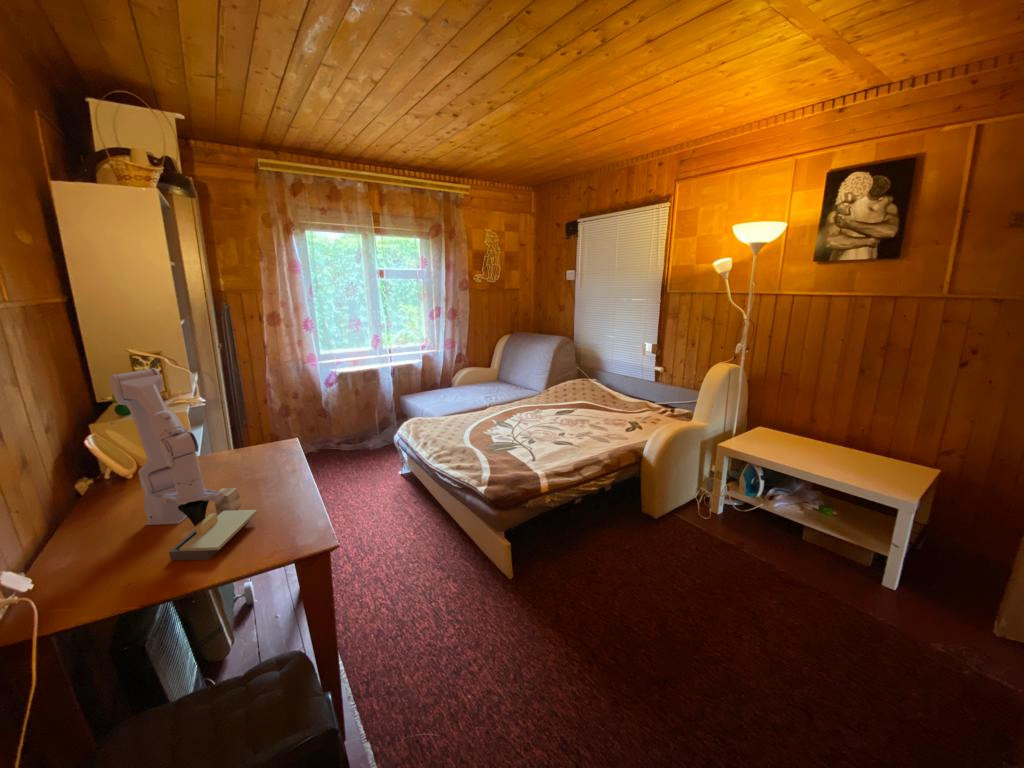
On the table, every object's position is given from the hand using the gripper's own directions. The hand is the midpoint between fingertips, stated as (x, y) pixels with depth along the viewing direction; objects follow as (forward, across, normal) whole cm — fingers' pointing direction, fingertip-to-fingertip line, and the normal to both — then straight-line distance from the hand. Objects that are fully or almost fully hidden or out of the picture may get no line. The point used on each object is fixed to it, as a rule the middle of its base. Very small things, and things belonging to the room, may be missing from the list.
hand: (200, 524), depth 111 cm
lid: (+2, +5, 0) cm, 6 cm away
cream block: (+4, -3, +14) cm, 15 cm away
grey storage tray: (+4, +2, 0) cm, 5 cm away
